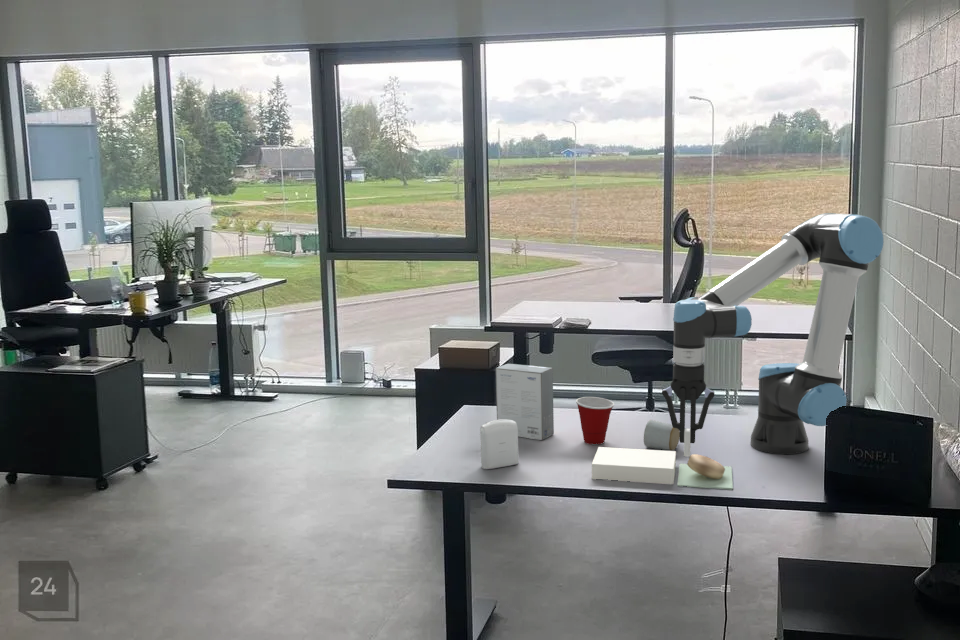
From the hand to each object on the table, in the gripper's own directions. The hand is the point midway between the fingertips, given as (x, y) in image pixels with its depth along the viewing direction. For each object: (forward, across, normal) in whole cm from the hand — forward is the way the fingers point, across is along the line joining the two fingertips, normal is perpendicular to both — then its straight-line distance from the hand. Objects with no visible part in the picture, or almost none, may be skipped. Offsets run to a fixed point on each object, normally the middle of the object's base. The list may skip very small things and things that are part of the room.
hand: (687, 455), depth 229 cm
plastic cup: (+6, -26, +24) cm, 36 cm away
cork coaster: (+4, +4, 0) cm, 6 cm away
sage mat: (+5, +4, 0) cm, 7 cm away
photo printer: (+6, -48, -1) cm, 48 cm away
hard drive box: (+6, -47, +28) cm, 55 cm away
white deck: (+5, -13, 0) cm, 14 cm away
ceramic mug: (+6, -7, +22) cm, 24 cm away
